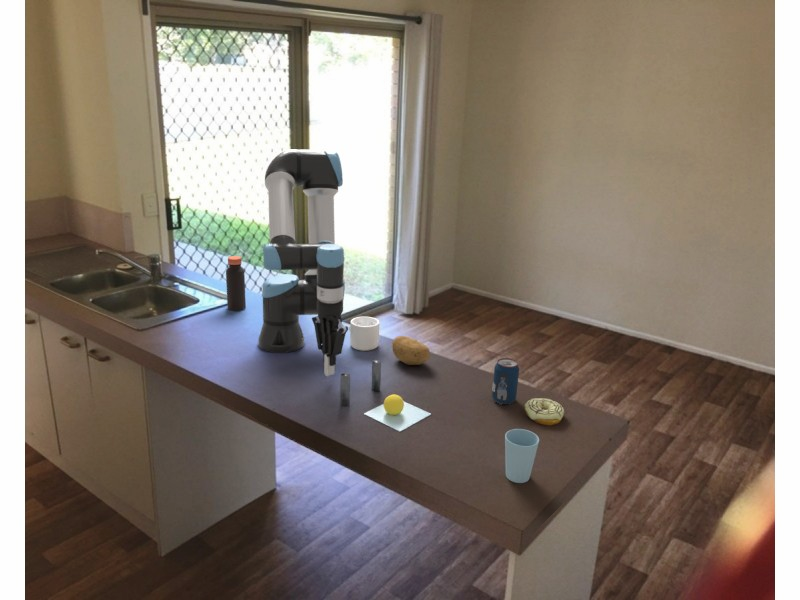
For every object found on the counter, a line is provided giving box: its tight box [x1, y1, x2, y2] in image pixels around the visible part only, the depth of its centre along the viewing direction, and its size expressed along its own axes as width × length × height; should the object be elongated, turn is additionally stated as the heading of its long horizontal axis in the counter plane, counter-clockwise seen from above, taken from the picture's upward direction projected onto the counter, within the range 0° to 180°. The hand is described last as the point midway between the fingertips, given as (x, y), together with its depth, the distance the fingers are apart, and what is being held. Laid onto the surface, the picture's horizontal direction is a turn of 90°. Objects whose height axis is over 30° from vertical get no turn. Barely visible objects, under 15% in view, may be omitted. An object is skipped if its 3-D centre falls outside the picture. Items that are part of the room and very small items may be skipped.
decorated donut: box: [524, 397, 565, 426], centre depth 180 cm, size 10×11×4 cm
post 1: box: [339, 372, 351, 408], centre depth 180 cm, size 3×3×9 cm
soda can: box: [491, 357, 520, 405], centre depth 186 cm, size 7×7×12 cm
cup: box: [504, 428, 540, 484], centre depth 151 cm, size 8×8×10 cm
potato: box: [391, 335, 431, 366], centre depth 208 cm, size 10×14×8 cm
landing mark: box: [363, 400, 432, 433], centre depth 178 cm, size 13×13×1 cm
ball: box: [383, 393, 405, 415], centre depth 177 cm, size 6×6×6 cm
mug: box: [348, 316, 381, 352], centre depth 220 cm, size 12×10×9 cm
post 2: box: [370, 359, 382, 393], centre depth 189 cm, size 3×3×9 cm
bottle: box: [225, 255, 247, 312], centre depth 247 cm, size 7×7×20 cm
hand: (329, 373), depth 194 cm, fingers closed
